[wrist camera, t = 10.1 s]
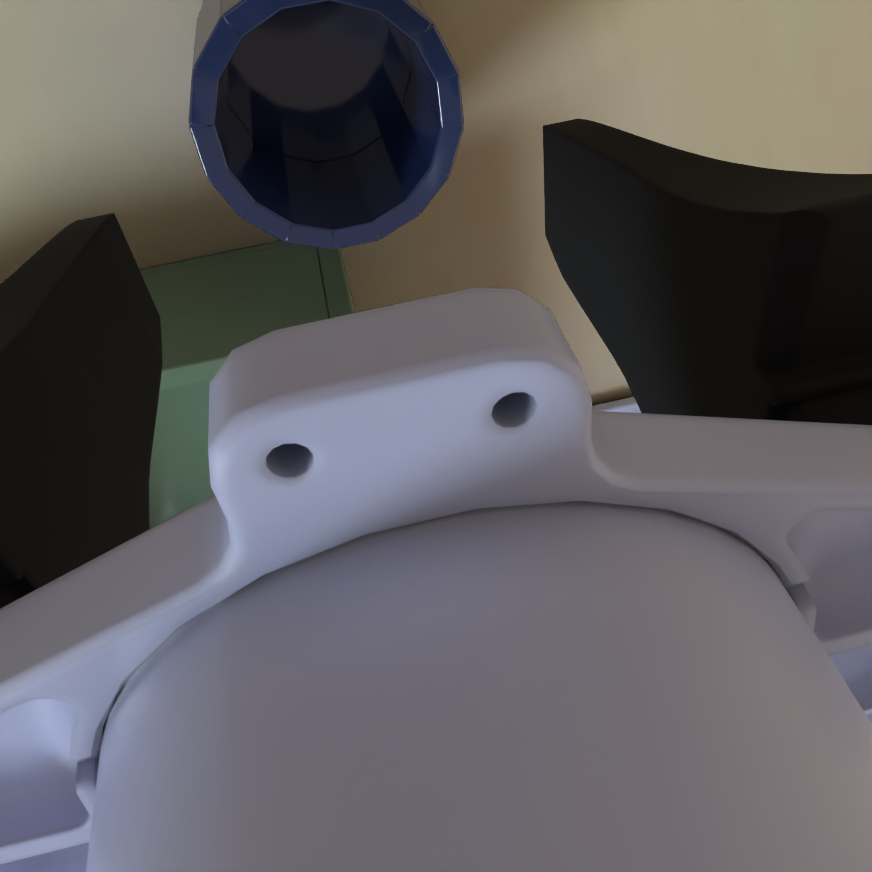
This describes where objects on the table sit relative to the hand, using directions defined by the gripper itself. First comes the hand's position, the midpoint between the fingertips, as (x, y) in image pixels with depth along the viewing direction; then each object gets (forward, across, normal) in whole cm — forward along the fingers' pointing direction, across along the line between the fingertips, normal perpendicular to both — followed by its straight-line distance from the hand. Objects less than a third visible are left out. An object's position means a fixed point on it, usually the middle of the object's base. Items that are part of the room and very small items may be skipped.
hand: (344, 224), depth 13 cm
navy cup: (+8, 0, 0) cm, 8 cm away
